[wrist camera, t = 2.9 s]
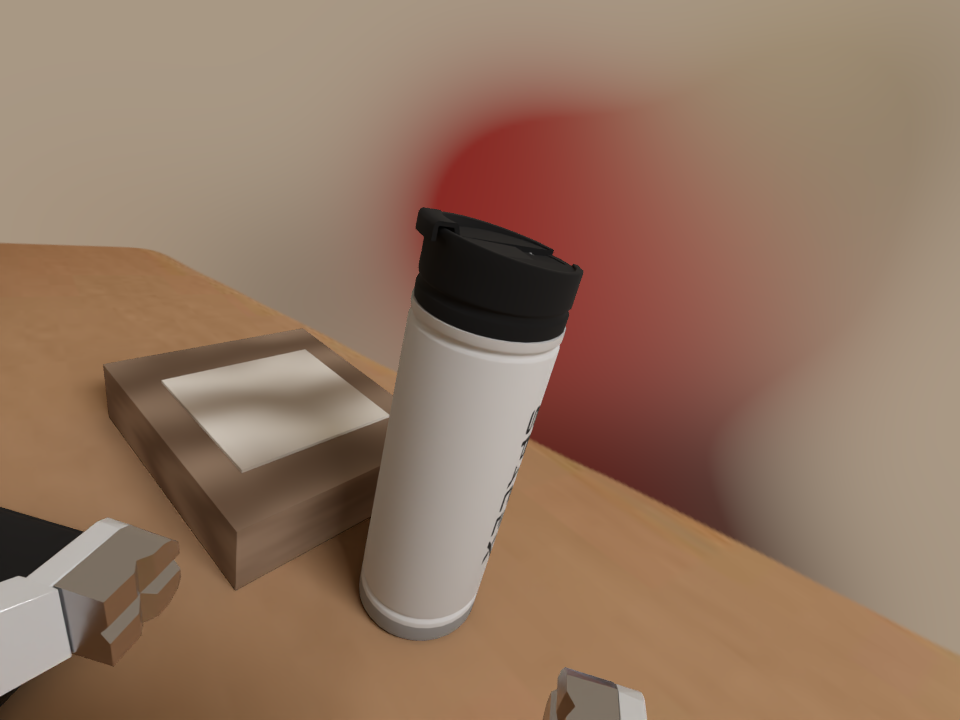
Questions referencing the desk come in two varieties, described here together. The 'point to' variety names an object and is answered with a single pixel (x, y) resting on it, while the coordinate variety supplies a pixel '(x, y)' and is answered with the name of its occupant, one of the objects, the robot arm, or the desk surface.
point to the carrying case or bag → (28, 547)
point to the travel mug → (460, 417)
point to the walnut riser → (255, 443)
